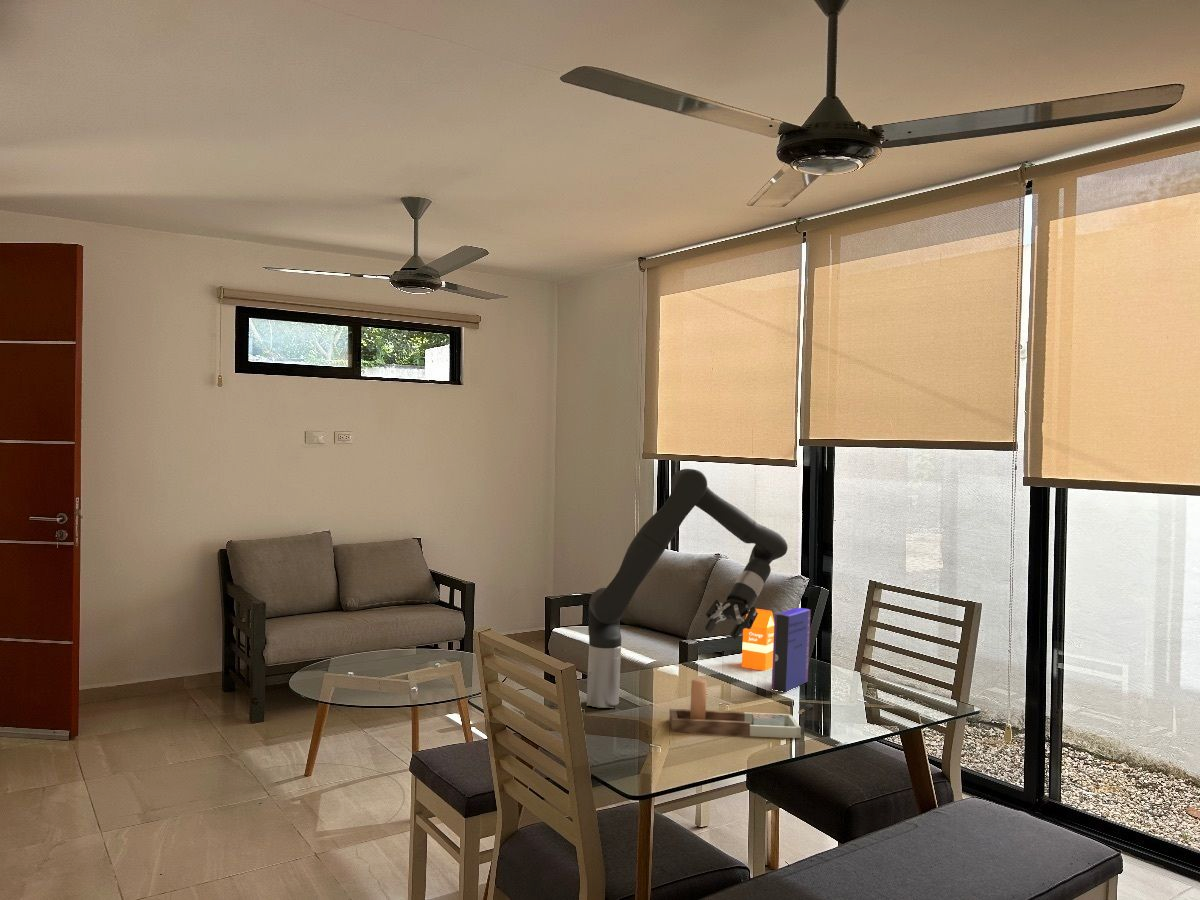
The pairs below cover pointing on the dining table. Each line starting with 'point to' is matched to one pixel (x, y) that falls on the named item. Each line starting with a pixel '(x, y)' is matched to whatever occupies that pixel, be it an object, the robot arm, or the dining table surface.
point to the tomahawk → (805, 706)
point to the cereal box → (790, 649)
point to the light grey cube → (760, 719)
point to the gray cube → (776, 720)
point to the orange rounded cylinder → (698, 699)
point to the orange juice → (759, 642)
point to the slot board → (710, 723)
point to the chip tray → (775, 727)
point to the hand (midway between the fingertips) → (719, 634)
